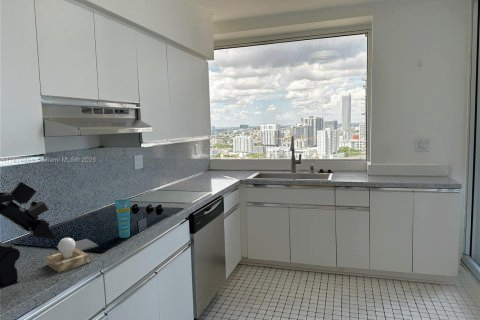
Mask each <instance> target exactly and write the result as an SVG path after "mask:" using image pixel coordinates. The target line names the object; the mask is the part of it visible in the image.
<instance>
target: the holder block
mask: <svg viewBox="0 0 480 320" xmlns="http://www.w3.org/2000/svg"><path fill="white" fill-rule="evenodd" d="M88 262H89V263H90V254H88V253H86V252H84V251H81V250H79V249H77V248H76V249H74V250H73V252H72V258H70V259H67V260H64V257H63V254H62V253H61V252H59V253H54V254H52V255H47V256H46V265H47V266H48V267H50V268H51V269H53V270H54V271H55V272H57V273H58V274H59V273H63V272H66V271H68V269H69V270H72V269H74V268H73V267H75V268H77V267H76V266H78V267H80V266H79V265H82V264H85V263H88ZM89 263H88V264H89ZM85 265H86V264H85ZM82 266H83V265H82ZM71 268H72V269H71ZM65 270H66V271H65ZM62 271H63V272H62Z"/></svg>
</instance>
